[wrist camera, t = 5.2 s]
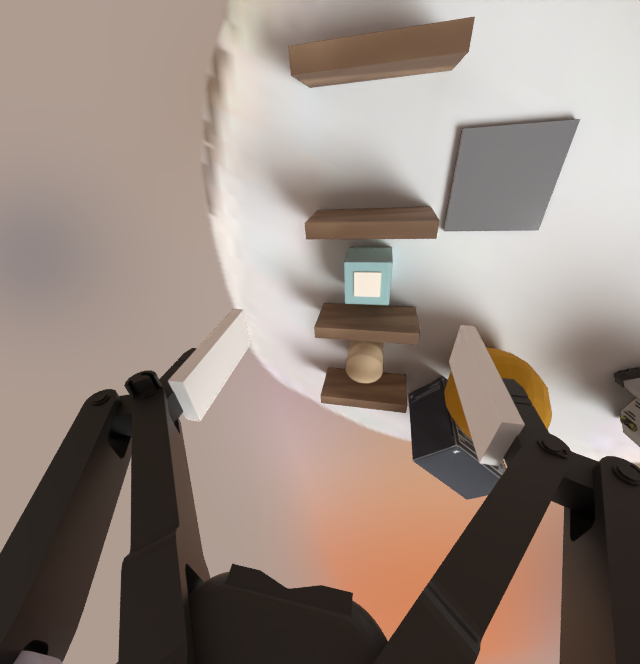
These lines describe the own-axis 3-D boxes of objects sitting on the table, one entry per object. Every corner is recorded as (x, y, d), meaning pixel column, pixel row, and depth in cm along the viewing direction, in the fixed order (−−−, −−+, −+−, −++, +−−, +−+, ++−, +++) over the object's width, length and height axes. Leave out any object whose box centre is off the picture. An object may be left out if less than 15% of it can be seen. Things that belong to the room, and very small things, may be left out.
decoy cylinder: (350, 330, 36) (345, 354, 32) (384, 332, 35) (383, 357, 31) (350, 356, 38) (345, 381, 34) (382, 358, 38) (381, 384, 34)
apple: (435, 332, 33) (453, 407, 24) (529, 323, 30) (591, 405, 21) (438, 388, 38) (454, 469, 29) (519, 385, 35) (565, 474, 26)
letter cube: (349, 247, 30) (344, 262, 26) (392, 247, 29) (392, 263, 25) (349, 285, 32) (344, 304, 29) (388, 286, 31) (388, 305, 28)
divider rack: (308, 64, 22) (288, 46, 18) (455, 43, 20) (474, 16, 15) (328, 374, 41) (321, 402, 37) (404, 382, 39) (405, 412, 35)
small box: (404, 395, 41) (408, 462, 32) (442, 374, 37) (458, 443, 29) (451, 432, 43) (465, 503, 35) (490, 416, 39) (518, 490, 31)
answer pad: (462, 128, 22) (463, 128, 22) (576, 119, 21) (579, 119, 20) (443, 229, 27) (444, 231, 26) (536, 228, 25) (538, 230, 25)
